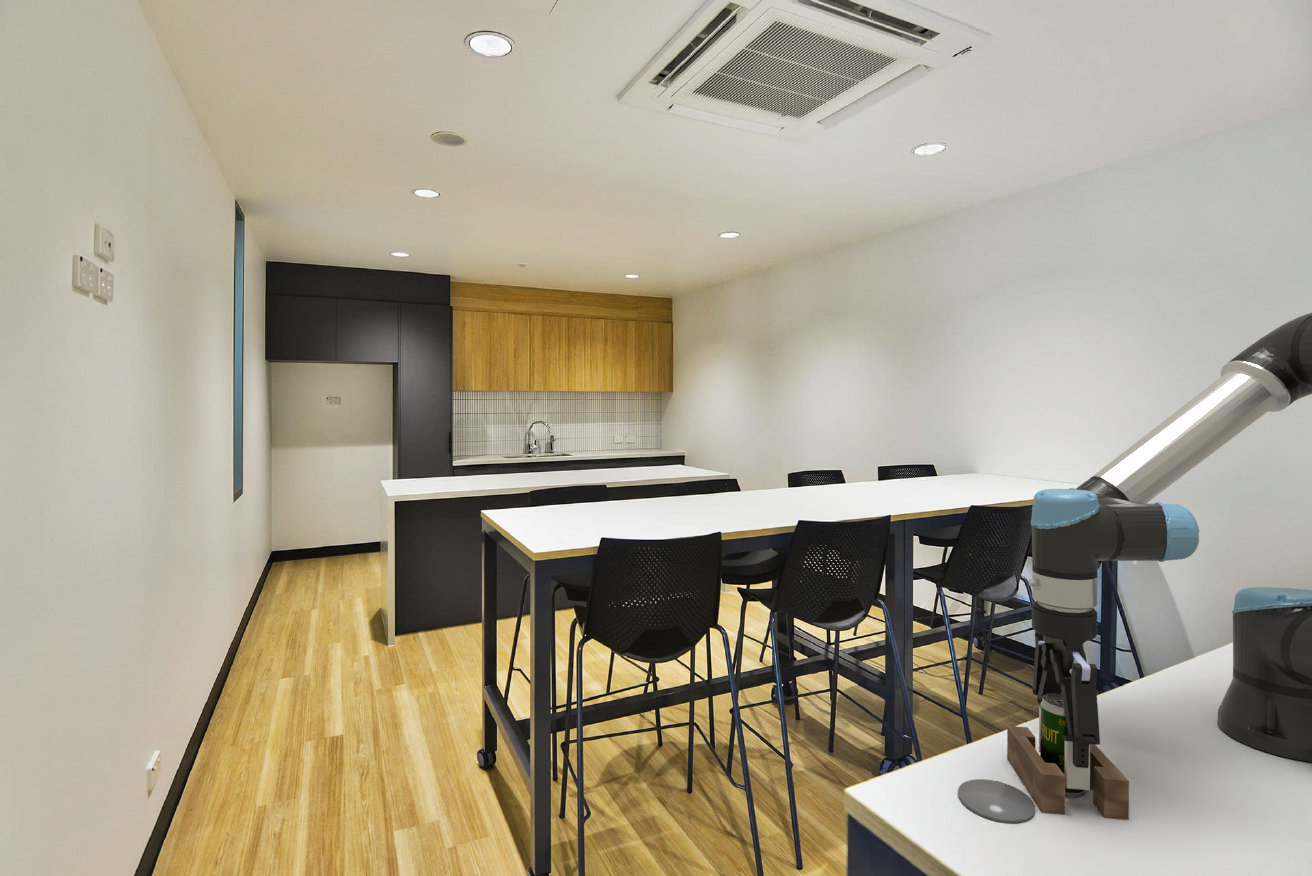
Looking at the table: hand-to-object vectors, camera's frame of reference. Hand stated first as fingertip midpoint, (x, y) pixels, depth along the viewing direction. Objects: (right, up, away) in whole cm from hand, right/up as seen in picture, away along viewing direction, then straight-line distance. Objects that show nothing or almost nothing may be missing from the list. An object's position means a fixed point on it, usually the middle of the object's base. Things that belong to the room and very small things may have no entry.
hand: (1063, 769), depth 90 cm
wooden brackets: (0, -2, 0) cm, 2 cm away
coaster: (-11, -3, -3) cm, 11 cm away
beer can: (0, -3, 0) cm, 3 cm away
